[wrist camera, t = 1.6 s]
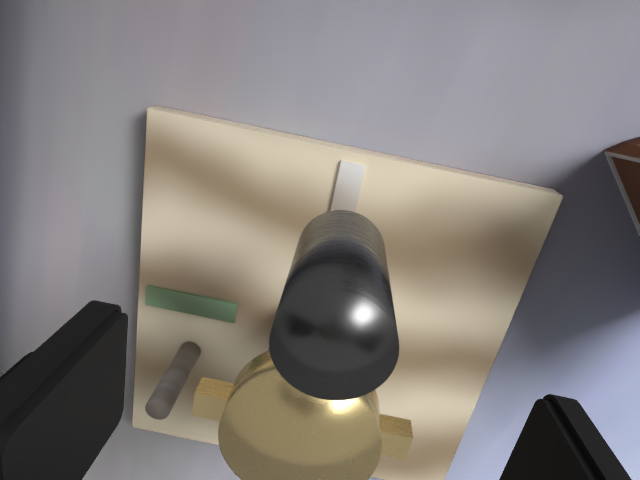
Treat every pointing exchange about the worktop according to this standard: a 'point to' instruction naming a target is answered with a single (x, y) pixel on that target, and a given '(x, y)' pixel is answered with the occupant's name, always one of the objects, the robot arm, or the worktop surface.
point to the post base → (277, 254)
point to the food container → (627, 174)
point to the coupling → (317, 366)
